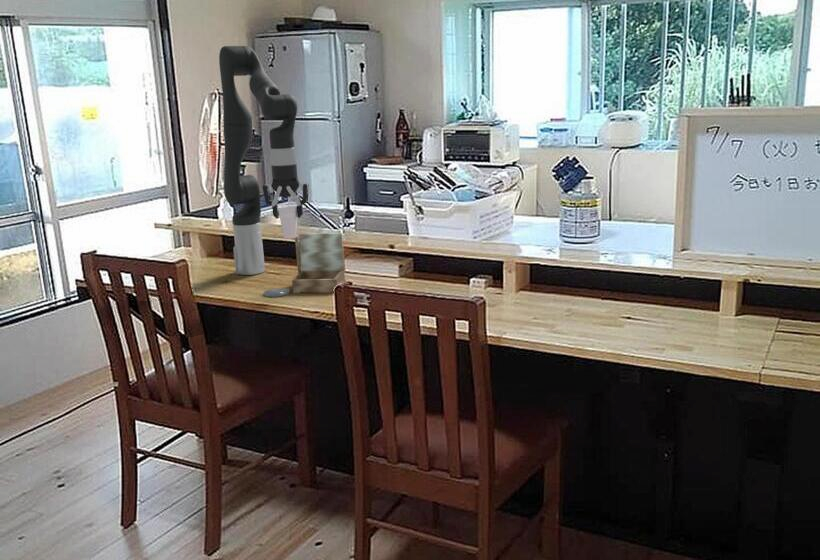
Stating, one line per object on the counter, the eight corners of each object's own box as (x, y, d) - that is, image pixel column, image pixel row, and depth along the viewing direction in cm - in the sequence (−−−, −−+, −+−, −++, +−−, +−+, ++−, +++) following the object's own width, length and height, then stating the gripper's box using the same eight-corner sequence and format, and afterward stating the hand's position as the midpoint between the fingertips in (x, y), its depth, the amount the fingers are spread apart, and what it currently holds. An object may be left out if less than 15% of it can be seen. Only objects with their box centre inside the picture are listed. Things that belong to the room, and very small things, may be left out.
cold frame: (289, 292, 251) (284, 242, 247) (299, 282, 263) (295, 233, 259) (337, 292, 249) (333, 241, 245) (345, 281, 261) (341, 232, 257)
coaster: (260, 297, 247) (260, 295, 247) (268, 290, 255) (268, 288, 255) (286, 297, 246) (285, 295, 246) (292, 289, 254) (292, 288, 254)
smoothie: (299, 239, 246) (295, 193, 242) (277, 240, 246) (274, 194, 242) (301, 234, 252) (298, 190, 248) (281, 235, 252) (277, 191, 248)
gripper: (309, 160, 245) (313, 214, 250) (263, 162, 247) (268, 215, 251) (304, 163, 238) (308, 219, 243) (256, 165, 240) (262, 220, 244)
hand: (288, 217), depth 247 cm, fingers closed on smoothie, 6 cm apart
